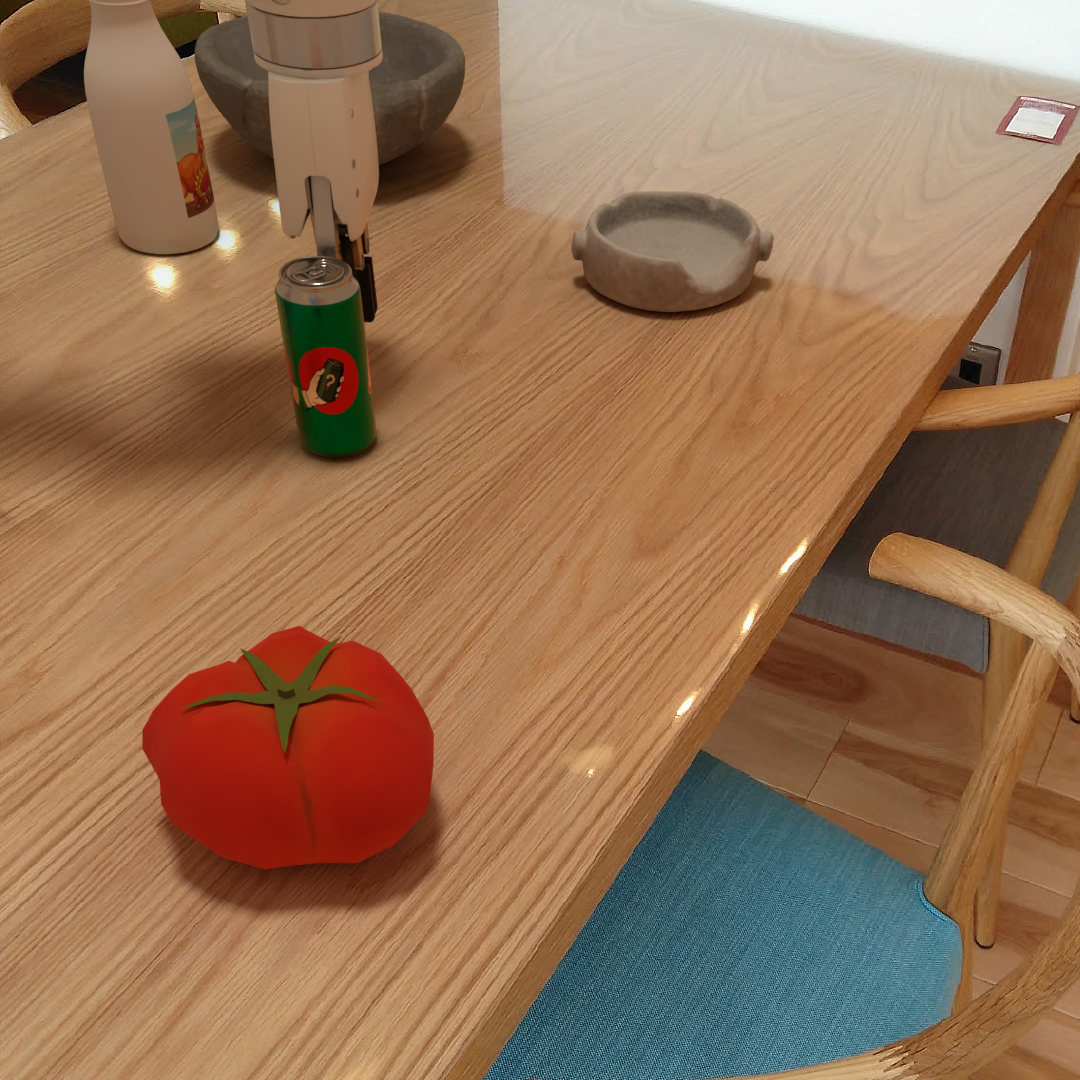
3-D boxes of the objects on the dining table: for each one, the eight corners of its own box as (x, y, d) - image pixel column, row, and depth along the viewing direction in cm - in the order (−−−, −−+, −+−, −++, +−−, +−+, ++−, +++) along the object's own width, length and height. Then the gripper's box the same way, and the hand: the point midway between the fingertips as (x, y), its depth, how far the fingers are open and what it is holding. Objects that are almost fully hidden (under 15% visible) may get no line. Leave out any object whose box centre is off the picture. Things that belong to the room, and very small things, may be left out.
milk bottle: (167, 266, 107) (106, -13, 94) (98, 237, 110) (28, -39, 96) (241, 233, 112) (193, -37, 99) (173, 206, 115) (117, -60, 101)
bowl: (520, 147, 129) (517, 34, 122) (369, 232, 114) (355, 108, 107) (323, 90, 136) (309, -21, 129) (156, 163, 121) (130, 42, 114)
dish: (784, 277, 114) (791, 218, 111) (690, 339, 105) (694, 278, 102) (643, 225, 119) (645, 168, 116) (542, 280, 111) (540, 220, 107)
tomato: (483, 741, 73) (474, 611, 67) (408, 927, 64) (390, 797, 58) (230, 700, 74) (198, 569, 67) (121, 879, 64) (73, 746, 58)
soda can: (393, 441, 92) (375, 272, 84) (333, 471, 89) (308, 299, 81) (344, 412, 94) (321, 244, 86) (283, 440, 91) (254, 269, 83)
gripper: (275, -12, 87) (316, 264, 100) (223, 72, 76) (276, 369, 89) (396, -5, 88) (421, 268, 100) (361, 80, 77) (393, 374, 90)
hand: (352, 315), depth 95 cm, fingers closed
